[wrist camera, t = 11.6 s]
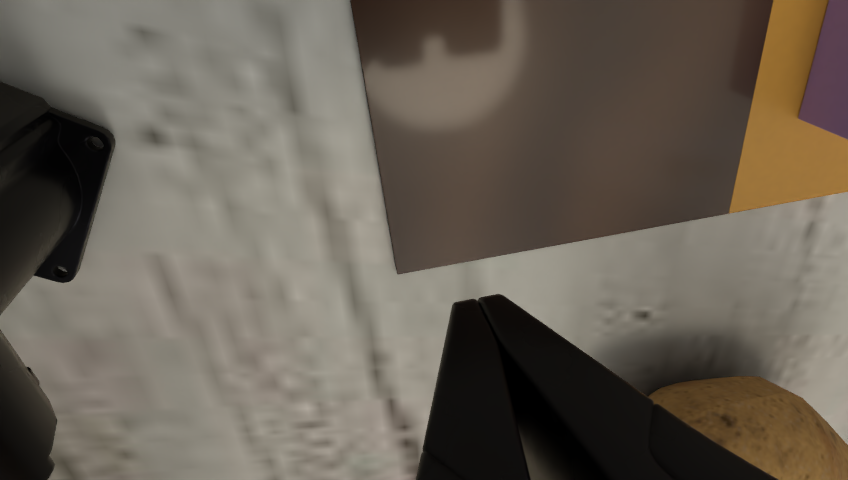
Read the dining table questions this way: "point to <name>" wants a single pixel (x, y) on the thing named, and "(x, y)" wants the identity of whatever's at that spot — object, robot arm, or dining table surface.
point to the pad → (788, 119)
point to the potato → (760, 425)
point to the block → (829, 74)
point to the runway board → (553, 117)
